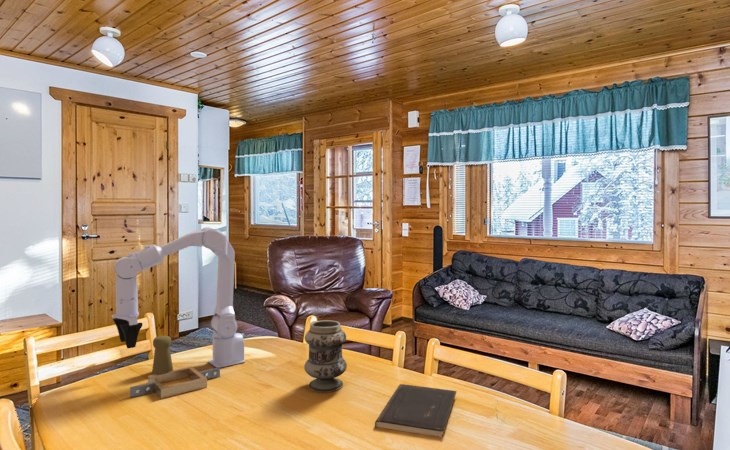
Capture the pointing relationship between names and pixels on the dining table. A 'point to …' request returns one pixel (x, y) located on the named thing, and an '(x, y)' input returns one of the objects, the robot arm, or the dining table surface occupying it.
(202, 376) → the square frame
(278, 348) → the dining table surface
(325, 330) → the apothecary jar
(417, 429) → the hardcover book
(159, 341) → the cork
